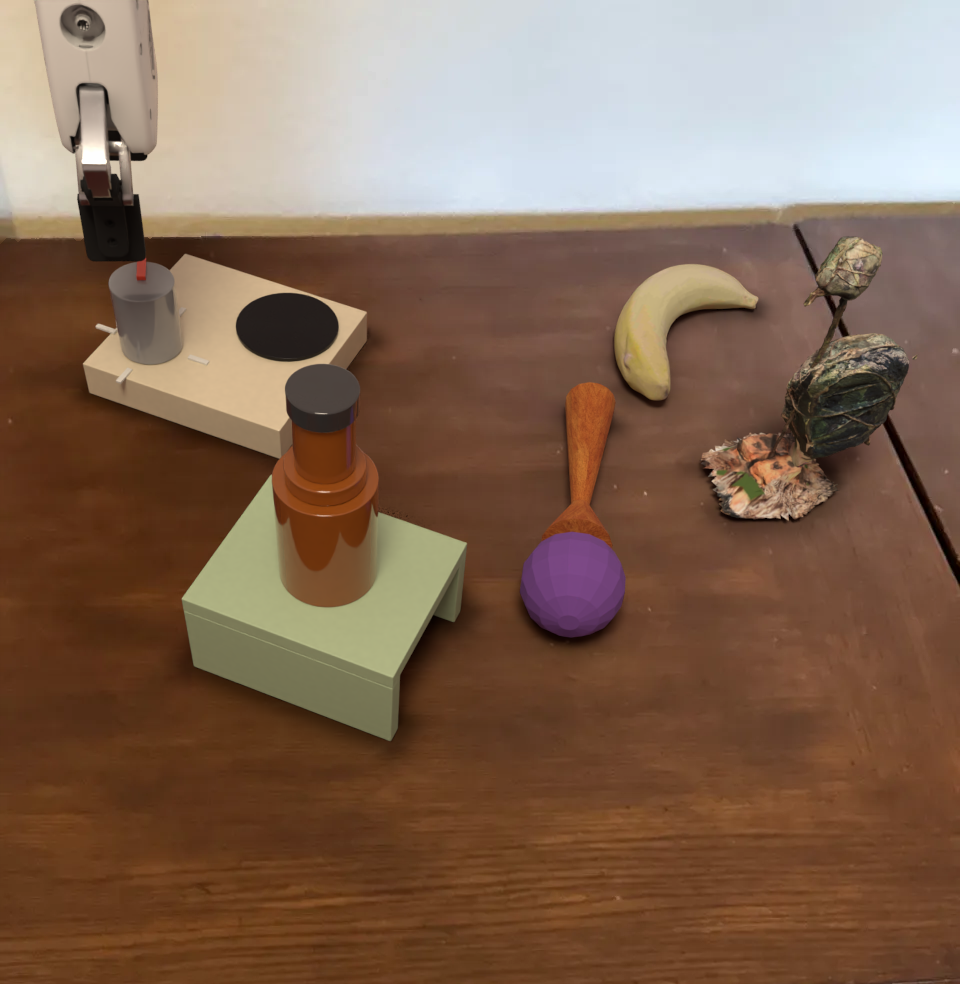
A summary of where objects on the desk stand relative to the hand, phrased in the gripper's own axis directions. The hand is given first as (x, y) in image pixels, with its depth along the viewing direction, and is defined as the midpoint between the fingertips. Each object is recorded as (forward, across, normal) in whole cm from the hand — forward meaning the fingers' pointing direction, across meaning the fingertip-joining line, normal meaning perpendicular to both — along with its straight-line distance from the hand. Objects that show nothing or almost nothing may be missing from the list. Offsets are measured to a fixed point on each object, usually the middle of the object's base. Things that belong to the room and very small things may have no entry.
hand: (119, 206), depth 74 cm
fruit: (+12, 0, -37) cm, 39 cm away
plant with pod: (+12, -13, -41) cm, 44 cm away
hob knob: (+10, 0, -1) cm, 10 cm away
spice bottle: (+6, -23, -11) cm, 26 cm away
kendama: (+12, -16, -26) cm, 33 cm away
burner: (+10, +1, -10) cm, 14 cm away
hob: (+12, 0, -6) cm, 14 cm away
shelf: (+12, -23, -11) cm, 28 cm away
